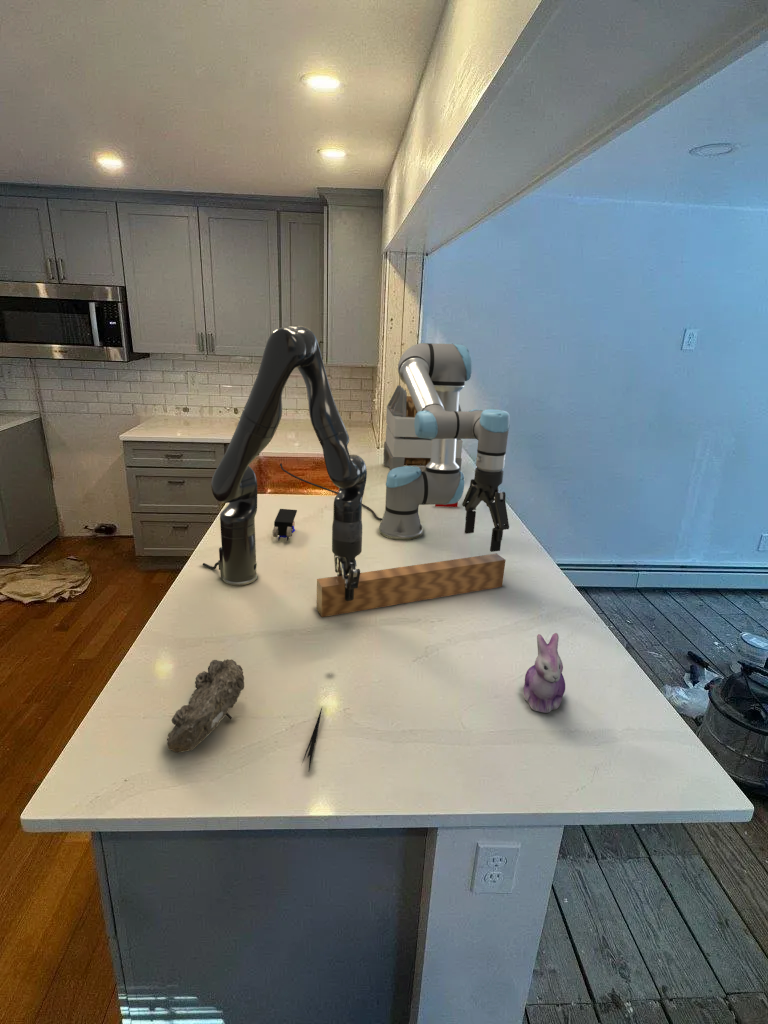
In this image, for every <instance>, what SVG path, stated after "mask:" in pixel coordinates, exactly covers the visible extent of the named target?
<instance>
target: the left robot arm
mask: <svg viewBox="0 0 768 1024" xmlns="http://www.w3.org/2000/svg"><path fill="white" fill-rule="evenodd" d="M295 369H297V370H298V372H299V373H300V375H301V377H302V379H303V383H304V385H305V388H306V393H307V401H308V402H307V403H308V404H307V405H308V414H309V419H310V423H311V425H312V428H313V430H314V432H315V435H316V437H317V440H318V441H319V444H320V446H321V448H322V455H323V460H324V464H325V469H326V472H327V476H328V477H329V479H330V482H332V484H333V486H336V487H337V488H338V491H337V492H338V494H336V496H335V497H334V499H333V507H332V508H333V510H332V513H333V518H332V519H333V520H332V526H331V552H332V554H333V555H334V556H333V558H334V572H335V573H336V576H342V578H343V579H344V580H345V600H346V601H351V600H353V599H354V589H355V588H358V584H359V577H360V573H361V569H360V568H357V560H356V557H358V556H359V555H361V553H362V550H363V519H362V518H363V516H362V515H363V506H362V504H363V497H364V494H365V488H366V484H367V477H368V469H367V464H366V462H365V460H364V459H363V458H362V457H361V456H359V455H358V454H350V451H349V448H348V445H349V443H350V436H349V435H350V434H349V433H348V430H347V428H346V425H345V423H344V421H343V419H342V416H341V414H340V412H339V410H338V407H337V404H336V402H335V399H334V395H333V393H332V390H331V386H330V383H329V379H328V375H327V372H326V371H327V370H326V368H325V364H324V361H323V357H322V352H321V348H320V346H319V342H318V339H317V337H316V335H315V334H314V332H313V331H312V330H311V329H310V328H308V326H305V325H300V324H299V325H290V326H289V325H288V326H281V327H279V328H276V329H274V331H272V332H271V334H270V335H269V336H268V338H267V341H266V344H265V347H264V350H263V355H262V357H261V362H260V364H259V369H258V372H257V375H256V378H255V380H254V383H253V385H252V388H251V390H250V393H249V396H248V398H247V401H246V403H245V405H244V407H243V409H242V412H241V414H240V417H239V420H238V422H237V425H236V428H235V430H234V433H233V435H232V437H231V439H230V442H229V445H228V447H227V449H226V451H225V453H224V455H223V456H222V458H221V459H220V462H219V464H218V465H217V467H216V469H215V471H214V473H213V475H212V478H211V483H210V488H211V493H212V495H213V497H214V498H215V499H216V500H217V501H218V502H219V503H223V504H228V505H227V506H226V507H225V508H224V509H223V510H222V511H221V513H220V514H219V525H220V526H219V527H220V539H221V540H220V542H221V546H220V547H219V548H218V556H219V560H218V561H217V562H215V563H214V565H213V566H212V565H210V564H207V563H205V562H203V563H202V566H203V567H205V568H208V569H209V570H216V569H217V568H218V570H219V572H220V580H223V581H224V583H225V584H227V585H230V586H246V585H250V584H252V583H254V582H255V581H256V580H257V579H258V573H257V572H258V571H257V568H258V562H257V548H256V547H257V546H256V523H255V521H256V520H255V518H256V515H257V512H258V479H257V476H256V473H255V471H254V470H253V468H252V467H251V466H250V465H251V463H252V462H253V461H254V460H255V459H256V458H257V457H258V456H259V455H260V454H261V453H262V452H263V451H264V450H265V448H266V447H267V446H268V445H269V444H270V442H271V441H272V439H273V438H274V436H275V434H276V432H277V430H278V427H279V425H280V423H281V420H282V416H283V392H284V389H285V386H286V384H287V382H288V380H289V378H290V377H291V374H292V373H293V371H294V370H295ZM346 575H349V576H346Z"/></svg>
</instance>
